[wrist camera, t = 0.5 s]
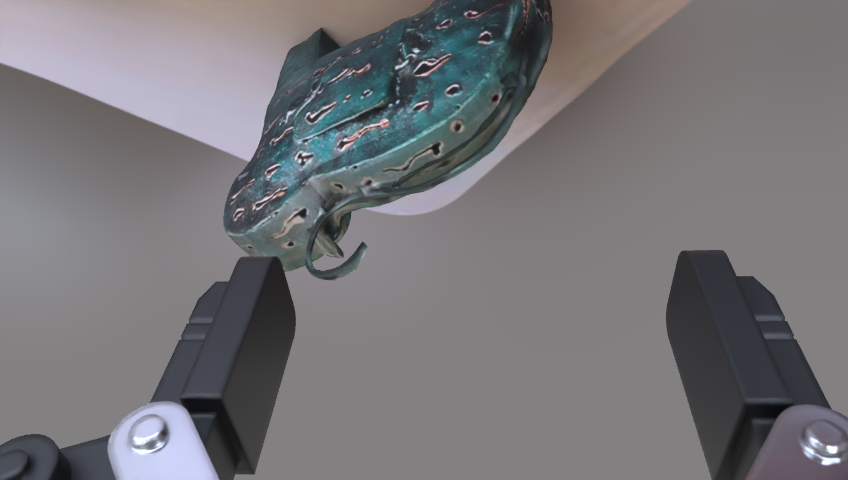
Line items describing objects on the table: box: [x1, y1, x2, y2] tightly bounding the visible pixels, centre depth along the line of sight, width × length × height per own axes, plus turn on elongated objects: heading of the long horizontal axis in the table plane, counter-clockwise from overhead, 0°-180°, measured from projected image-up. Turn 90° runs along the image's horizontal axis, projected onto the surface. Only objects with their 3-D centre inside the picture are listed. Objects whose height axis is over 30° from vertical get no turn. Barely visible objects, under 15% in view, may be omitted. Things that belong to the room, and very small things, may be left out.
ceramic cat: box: [223, 0, 553, 280], centre depth 36 cm, size 20×6×20 cm, turn 125°
